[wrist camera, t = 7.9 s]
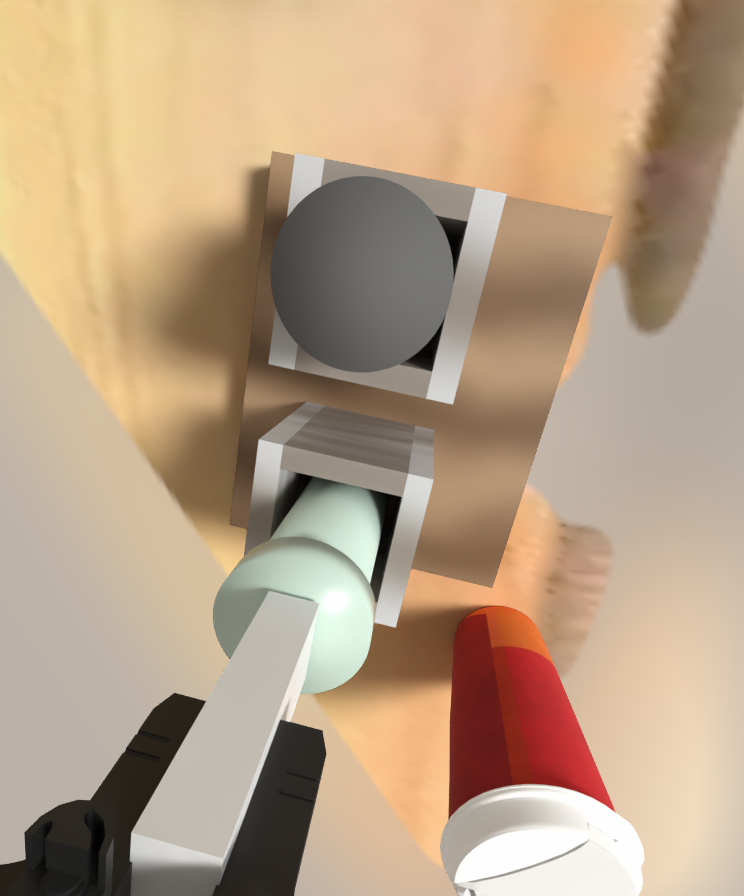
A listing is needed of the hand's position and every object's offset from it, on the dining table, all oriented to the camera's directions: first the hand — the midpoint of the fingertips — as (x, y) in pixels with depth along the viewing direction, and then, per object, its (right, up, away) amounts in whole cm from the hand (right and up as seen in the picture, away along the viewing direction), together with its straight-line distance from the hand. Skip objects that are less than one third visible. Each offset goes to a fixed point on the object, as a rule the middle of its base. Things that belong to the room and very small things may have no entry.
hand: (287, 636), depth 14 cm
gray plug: (+3, +13, +9) cm, 16 cm away
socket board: (+4, +9, +13) cm, 16 cm away
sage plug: (+1, +3, +11) cm, 11 cm away
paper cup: (+11, -7, +17) cm, 22 cm away
